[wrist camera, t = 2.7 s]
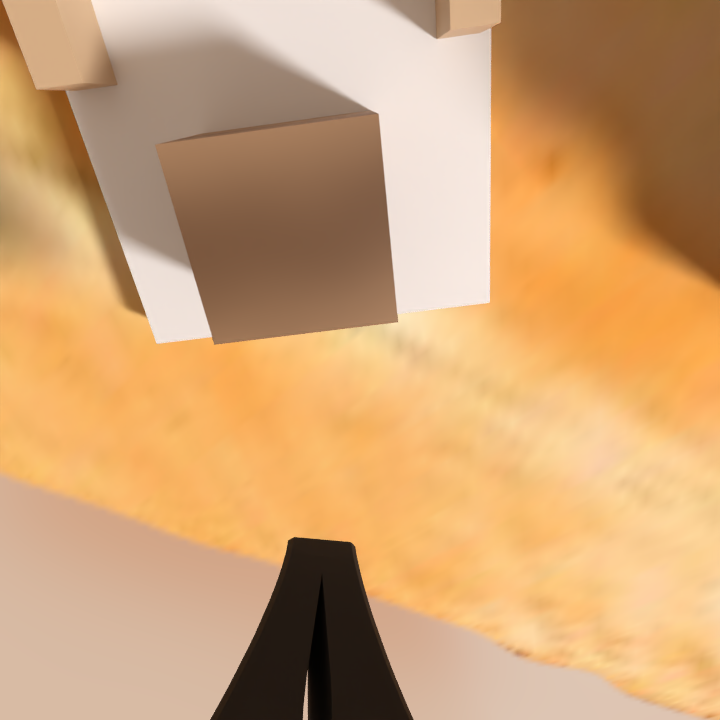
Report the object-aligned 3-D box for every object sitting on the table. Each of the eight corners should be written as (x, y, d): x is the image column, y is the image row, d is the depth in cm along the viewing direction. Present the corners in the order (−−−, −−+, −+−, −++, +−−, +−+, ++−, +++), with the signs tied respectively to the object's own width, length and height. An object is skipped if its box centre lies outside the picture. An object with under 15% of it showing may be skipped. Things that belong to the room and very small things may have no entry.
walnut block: (387, 274, 16) (397, 322, 13) (242, 292, 17) (214, 344, 13) (370, 110, 14) (378, 114, 11) (201, 133, 14) (155, 144, 11)
